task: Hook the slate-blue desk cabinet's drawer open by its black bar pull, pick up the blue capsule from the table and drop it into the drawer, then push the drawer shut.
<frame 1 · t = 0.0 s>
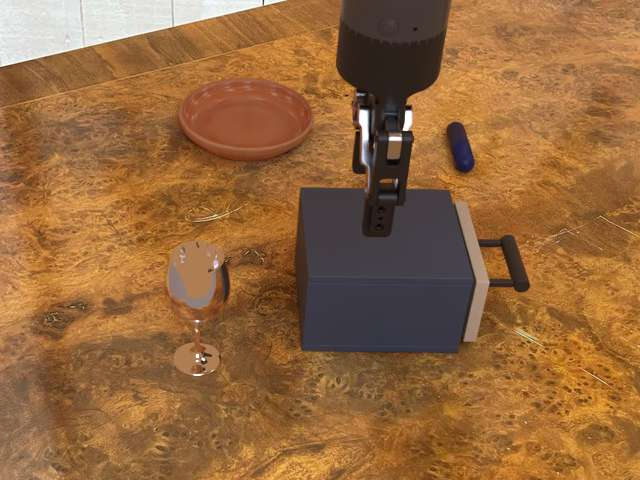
hand: (369, 201, 85), 19 cm above the table, tool pointing down, fingers open, 8 cm apart
saucer: (245, 133, 128), on the table
blue capsule: (458, 154, 125), on the table
drawer: (425, 269, 102), point 5 cm above the table, slide at 0.5 cm
wineglass: (197, 360, 98), on the table
cabinet: (372, 304, 105), on the table
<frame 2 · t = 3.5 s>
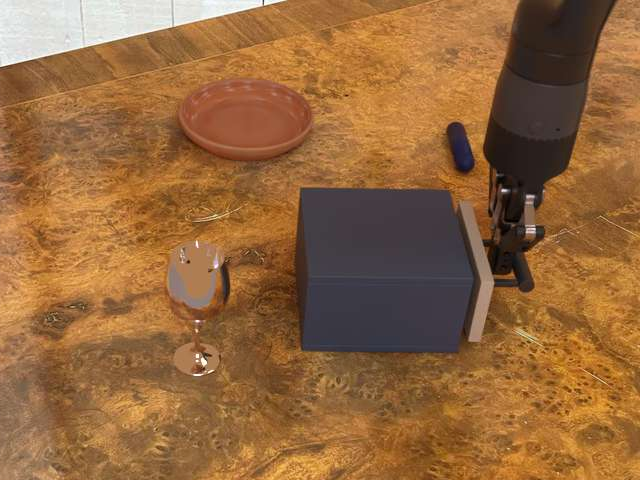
hand: (497, 269, 102), 5 cm above the table, tool pointing down, fingers closed
drawer: (429, 269, 102), point 5 cm above the table, slide at 0.9 cm
everything else where it was.
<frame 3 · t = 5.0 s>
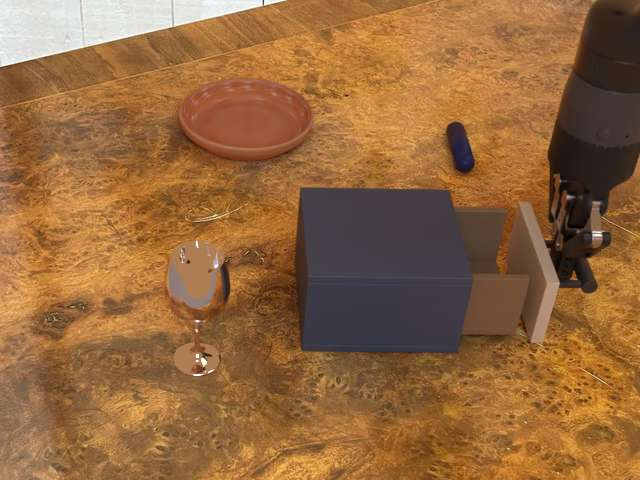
hand: (557, 275, 102), 4 cm above the table, tool pointing down, fingers closed
drawer: (491, 270, 102), point 5 cm above the table, slide at 6.8 cm, touching gripper
everything else where it was.
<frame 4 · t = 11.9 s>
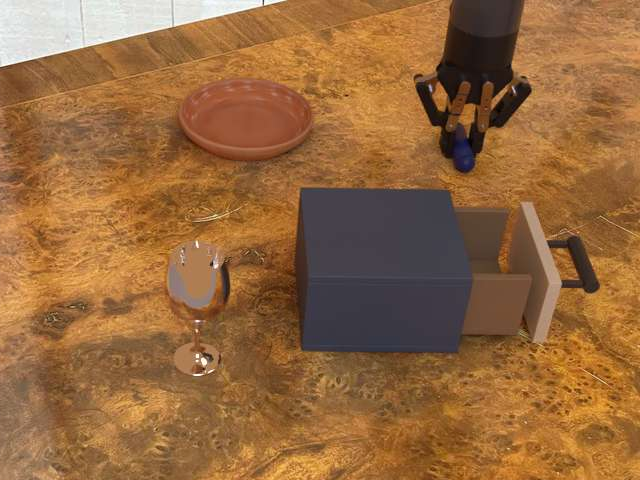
hand: (459, 153, 125), 0 cm above the table, tool pointing down, fingers closed on blue capsule, 2 cm apart
blue capsule: (458, 154, 125), on the table, touching gripper
drawer: (493, 270, 102), point 5 cm above the table, slide at 7.0 cm
everything else where it was.
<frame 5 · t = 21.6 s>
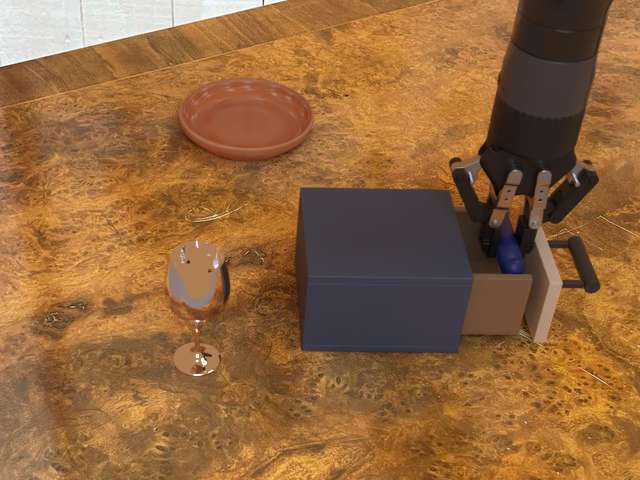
hand: (503, 252, 101), 7 cm above the table, tool pointing down, fingers closed on blue capsule
blue capsule: (503, 253, 101), point 7 cm above the table, touching gripper
drawer: (493, 270, 102), point 5 cm above the table, slide at 7.1 cm, touching gripper
everything else where it was.
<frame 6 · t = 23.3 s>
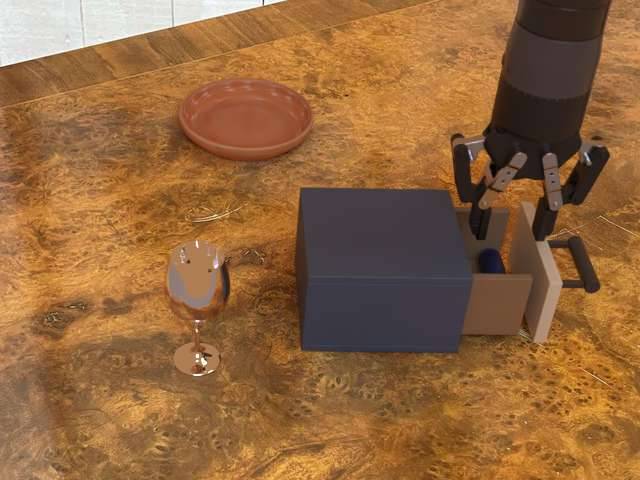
hand: (508, 235, 99), 9 cm above the table, tool pointing down, fingers open, 5 cm apart
blue capsule: (494, 290, 104), point 2 cm above the table, touching drawer
drawer: (493, 270, 102), point 5 cm above the table, slide at 7.1 cm, touching blue capsule
everything else where it was.
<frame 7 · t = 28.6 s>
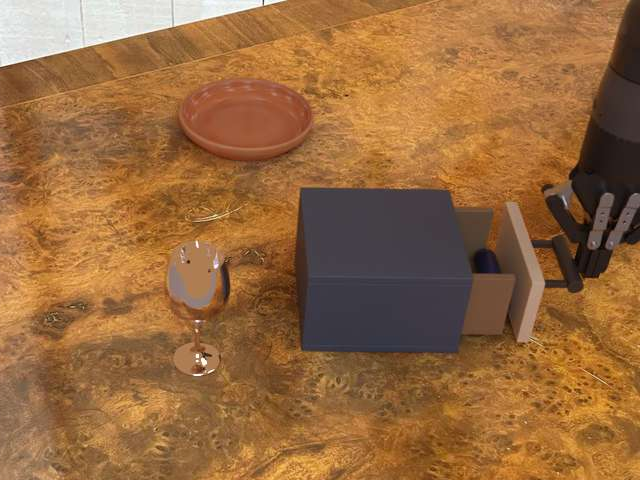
hand: (587, 273, 102), 4 cm above the table, tool pointing down, fingers closed
blue capsule: (481, 286, 103), point 2 cm above the table, tilted 56°, touching drawer
drawer: (477, 269, 102), point 5 cm above the table, slide at 5.5 cm, touching gripper, blue capsule
everything else where it was.
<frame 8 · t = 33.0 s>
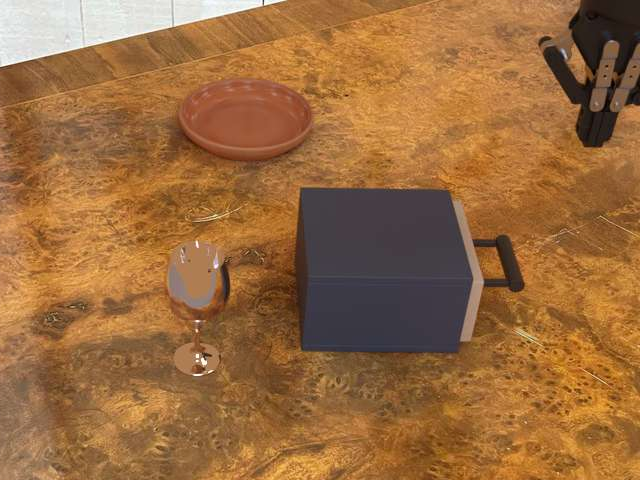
hand: (590, 142, 93), 19 cm above the table, tool pointing down, fingers closed
blue capsule: (428, 282, 103), point 3 cm above the table, tilted 79°, touching drawer
drawer: (420, 269, 102), point 5 cm above the table, slide at 0.0 cm, touching cabinet, blue capsule
everything else where it was.
at the end: drawer pulled out 7.1 cm at the most during the clip, back to where it started at the end; blue capsule inside the target area in the cabinet (5.1 cm from its centre), point 2.9 cm above the cabinet's base; drawer slide at 0.0 cm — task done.
